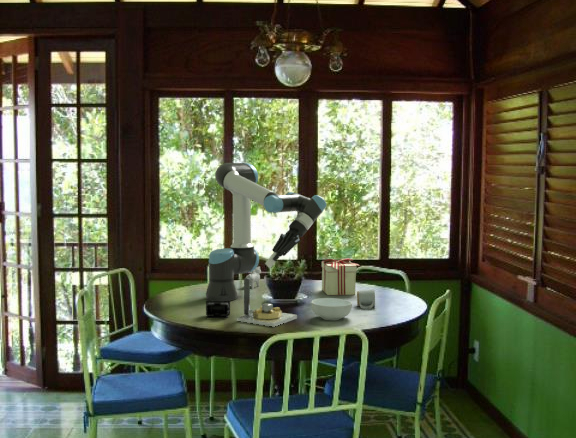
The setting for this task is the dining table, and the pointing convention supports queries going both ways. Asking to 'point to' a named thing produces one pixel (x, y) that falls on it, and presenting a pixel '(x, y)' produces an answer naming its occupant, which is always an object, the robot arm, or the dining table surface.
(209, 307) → the end cap
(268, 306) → the housing
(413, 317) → the dining table surface
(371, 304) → the ceramic mug
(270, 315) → the gold and grey piece
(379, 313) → the dining table surface
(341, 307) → the cereal bowl
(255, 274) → the dog figurine
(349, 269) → the gift box
